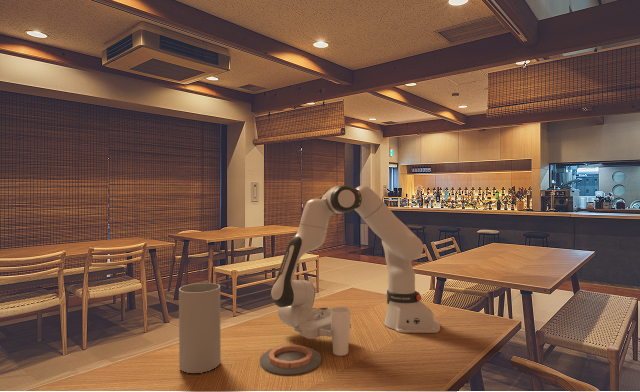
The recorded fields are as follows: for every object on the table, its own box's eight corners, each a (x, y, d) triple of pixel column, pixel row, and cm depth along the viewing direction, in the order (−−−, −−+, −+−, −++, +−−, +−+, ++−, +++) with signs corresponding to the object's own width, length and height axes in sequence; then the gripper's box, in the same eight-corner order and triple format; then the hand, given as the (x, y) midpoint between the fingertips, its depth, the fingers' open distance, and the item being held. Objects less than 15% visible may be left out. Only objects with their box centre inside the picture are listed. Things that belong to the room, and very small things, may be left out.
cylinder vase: (182, 378, 110) (181, 294, 110) (177, 362, 121) (176, 285, 121) (224, 369, 116) (224, 289, 116) (216, 354, 127) (215, 281, 127)
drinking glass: (349, 358, 123) (348, 313, 123) (329, 356, 125) (328, 312, 125) (351, 349, 130) (351, 307, 130) (332, 348, 131) (332, 306, 131)
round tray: (326, 350, 129) (326, 344, 129) (312, 378, 110) (312, 370, 110) (272, 345, 134) (272, 339, 134) (249, 371, 115) (249, 363, 114)
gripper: (291, 319, 129) (320, 329, 120) (330, 306, 144) (358, 313, 134) (291, 337, 129) (320, 348, 120) (330, 322, 144) (359, 331, 134)
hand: (341, 330), depth 127 cm, fingers open, 8 cm apart
